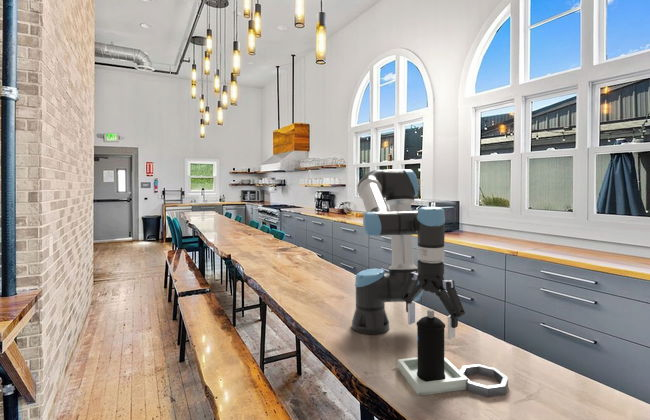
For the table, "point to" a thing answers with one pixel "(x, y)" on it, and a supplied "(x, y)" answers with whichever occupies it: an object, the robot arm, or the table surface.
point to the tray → (450, 383)
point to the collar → (483, 389)
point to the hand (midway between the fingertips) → (430, 330)
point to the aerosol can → (430, 348)
